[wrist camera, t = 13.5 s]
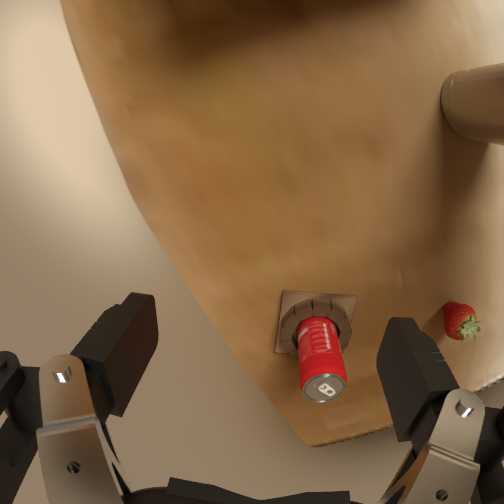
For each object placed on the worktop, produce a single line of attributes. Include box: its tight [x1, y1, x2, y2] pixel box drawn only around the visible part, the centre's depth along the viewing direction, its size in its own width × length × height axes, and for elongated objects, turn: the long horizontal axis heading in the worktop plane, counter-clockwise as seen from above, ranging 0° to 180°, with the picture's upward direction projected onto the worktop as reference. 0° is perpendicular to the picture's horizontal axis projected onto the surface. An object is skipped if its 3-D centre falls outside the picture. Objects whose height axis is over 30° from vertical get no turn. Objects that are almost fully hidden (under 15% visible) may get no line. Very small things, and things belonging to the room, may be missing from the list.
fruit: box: [444, 302, 480, 341], centre depth 37 cm, size 5×5×8 cm
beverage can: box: [298, 316, 347, 402], centre depth 36 cm, size 5×5×12 cm
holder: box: [275, 290, 357, 360], centre depth 42 cm, size 10×10×3 cm
